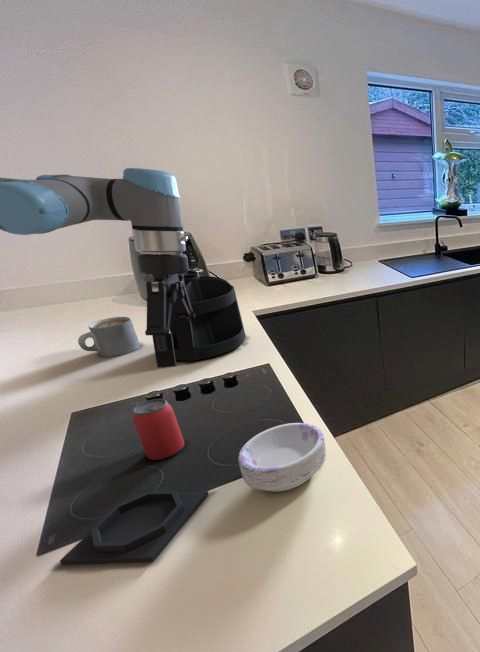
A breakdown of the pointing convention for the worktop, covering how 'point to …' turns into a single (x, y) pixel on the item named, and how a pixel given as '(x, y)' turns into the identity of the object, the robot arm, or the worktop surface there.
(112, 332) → the coffee mug
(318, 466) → the white round bowl
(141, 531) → the dock pad
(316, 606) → the worktop surface
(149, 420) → the beer can
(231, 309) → the container
